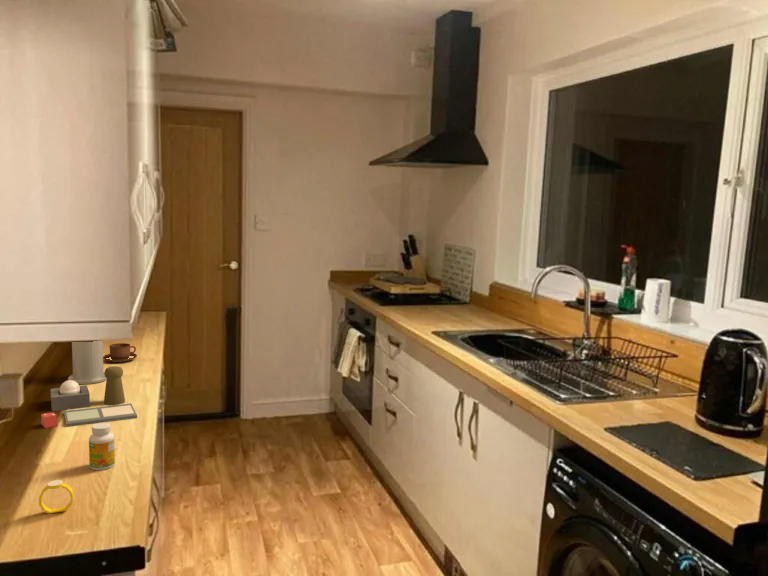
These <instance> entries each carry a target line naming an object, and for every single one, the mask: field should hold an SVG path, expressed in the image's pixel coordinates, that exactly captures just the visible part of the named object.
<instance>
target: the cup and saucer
mask: <svg viewBox="0 0 768 576" xmlns="http://www.w3.org/2000/svg"><path fill="white" fill-rule="evenodd" d="M131 348H133V351H131ZM136 351H137V347H136V346H134V345H131V344H130V343H123V342H121V343H120V342H119V343H113V344H109V353H108V354H105V355H103V361H104V360H105V361H106V362H108V363H116V362H118V363H126V361H127V362H130V360H131V361H134V360H135V359H136V358H137V355H138V354H136ZM129 356H134V357H133V358H129ZM109 357H111V359H112V360H110V359H106V358H109ZM128 358H129V359H128Z"/></svg>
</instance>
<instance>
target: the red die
mask: <svg viewBox="0 0 768 576" xmlns="http://www.w3.org/2000/svg"><path fill="white" fill-rule="evenodd" d="M40 418H41V426H42V427H43V428H45V429H47V428H53V427H57V426H58V415H57V414H56V413H55V412H54V411H52V412H47V413H41V415H40Z"/></svg>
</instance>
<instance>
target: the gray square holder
mask: <svg viewBox="0 0 768 576" xmlns="http://www.w3.org/2000/svg"><path fill="white" fill-rule="evenodd" d="M79 387H80V393H74V394H65V395H60V387H55V388H50V406H51V411H52V412H56V411H67V410H76V409H85V408H91V404H90V403H91V402H90V394H91V393H90V391H89V388H88V384H83V385H79Z"/></svg>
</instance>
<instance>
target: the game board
mask: <svg viewBox="0 0 768 576" xmlns="http://www.w3.org/2000/svg"><path fill="white" fill-rule="evenodd" d="M133 406H134V405H133V404H132V403H122V404H119V405H105V406H98V407H97V406H96V407H86V408H77V409H69V410H63V414H64V420H65V421H64V422H65V426H66V427H67V428H68V427H74V426H77V427H78V426H84V425H90V424H92V425H94V424H98V423H108V422H115V421H125V420H129V419H131V420H132V419H138V415H137V413H136V410H135V408H134V407H133Z"/></svg>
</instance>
